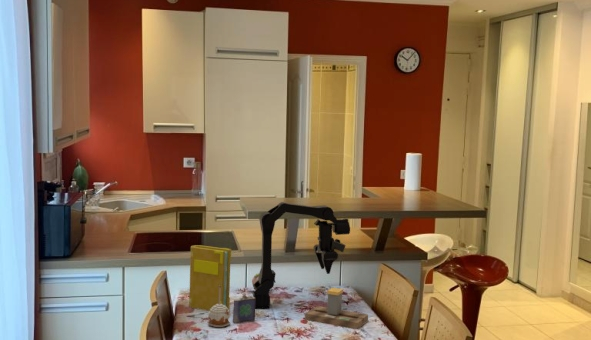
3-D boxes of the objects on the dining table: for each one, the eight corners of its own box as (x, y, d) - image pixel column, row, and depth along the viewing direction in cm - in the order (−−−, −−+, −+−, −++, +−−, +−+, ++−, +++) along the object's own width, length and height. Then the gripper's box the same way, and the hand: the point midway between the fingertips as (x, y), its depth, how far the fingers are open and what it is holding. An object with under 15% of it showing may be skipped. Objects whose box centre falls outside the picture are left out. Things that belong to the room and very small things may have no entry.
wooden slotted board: (304, 319, 228) (305, 312, 228) (316, 311, 239) (317, 305, 239) (357, 329, 219) (357, 322, 219) (367, 320, 230) (368, 314, 229)
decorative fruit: (263, 296, 260) (264, 274, 259) (248, 293, 264) (249, 271, 264) (275, 291, 268) (275, 270, 267) (260, 288, 272) (261, 267, 272)
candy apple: (230, 327, 216) (232, 288, 215) (210, 328, 213) (211, 288, 213) (227, 321, 223) (228, 282, 222) (207, 322, 221) (208, 283, 220)
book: (229, 309, 239) (231, 249, 237) (220, 313, 232) (222, 251, 231) (195, 302, 246) (196, 244, 244) (185, 306, 240) (187, 247, 238)
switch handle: (326, 318, 228) (327, 290, 227) (331, 314, 233) (332, 287, 232) (337, 320, 226) (338, 292, 225) (342, 316, 231) (343, 289, 230)
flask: (234, 323, 220) (235, 296, 220) (231, 321, 223) (232, 294, 222) (256, 320, 225) (257, 293, 224) (252, 318, 227) (253, 291, 227)
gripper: (350, 238, 240) (349, 275, 241) (337, 231, 258) (337, 265, 259) (324, 239, 238) (324, 276, 239) (313, 232, 256) (313, 266, 257)
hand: (325, 271), depth 249 cm, fingers open, 9 cm apart
